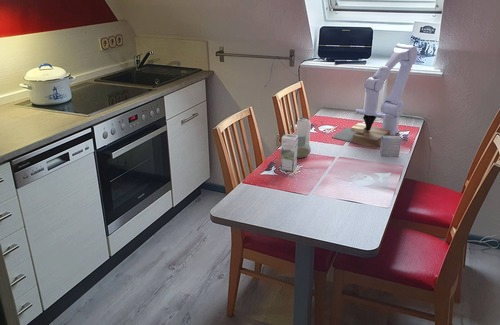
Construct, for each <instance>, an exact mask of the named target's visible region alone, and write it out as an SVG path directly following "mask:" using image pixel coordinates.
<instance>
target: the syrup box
mask: <svg viewBox="0 0 500 325" xmlns="http://www.w3.org/2000/svg"><path fill="white" fill-rule="evenodd" d="M280 144H281V148H280V171H287V172H295V170H296V168H297V164H298V163H297V162H298V161H297V160H298V158H297V147H298V135H293V134H291V133H290V134H288V133H284V134H283V135H282V137H281V143H280Z"/></svg>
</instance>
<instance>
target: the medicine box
mask: <svg viewBox="0 0 500 325" xmlns="http://www.w3.org/2000/svg"><path fill="white" fill-rule="evenodd" d="M401 145H402V138H401V137H400V136H399V135H394V136H392V135H390V136H382V139H381V145H380V146H379V147H380V148H379V154H380V157H385V158H386V157H390V158H399V157H400V150H401Z"/></svg>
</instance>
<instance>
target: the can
mask: <svg viewBox="0 0 500 325" xmlns="http://www.w3.org/2000/svg"><path fill="white" fill-rule="evenodd" d="M297 119H298V120H297V122H296V132H295V133H304V134H305V135H306V142H305V143H307V144H308V145H309V144H310V143H311V142H310V139H311V126H312V125H311V119H310V118H308V117H304V116H303V117H299V118H297Z"/></svg>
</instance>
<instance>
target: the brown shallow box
mask: <svg viewBox="0 0 500 325" xmlns="http://www.w3.org/2000/svg"><path fill="white" fill-rule="evenodd" d="M382 136H391V135H390V130H389V129H384V128H382V127H378V126H373V125H372V126H371V129H370V130H369V131H365V132H364V133H358V132H357V133H355V134H354V135H353V141H352V142H353V144H356V143H357V145H362V146H365V145H366V146H365V147H369V148H374V147H375V148H374V149H376V148H378V147H380V146H381V145H380V144H381V139H382ZM352 142H351V143H352Z"/></svg>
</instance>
